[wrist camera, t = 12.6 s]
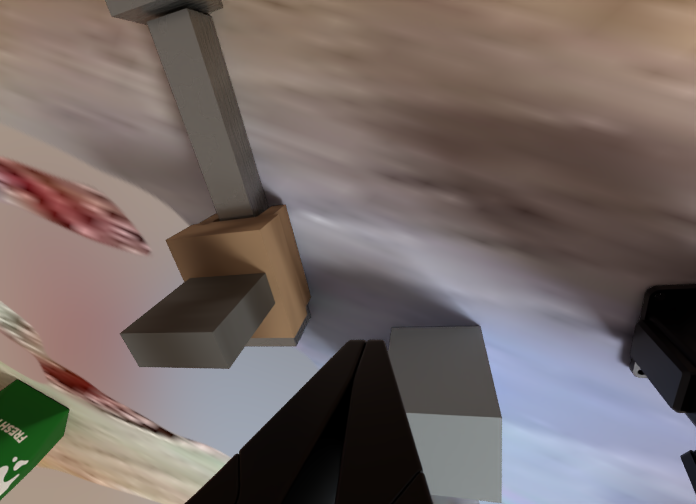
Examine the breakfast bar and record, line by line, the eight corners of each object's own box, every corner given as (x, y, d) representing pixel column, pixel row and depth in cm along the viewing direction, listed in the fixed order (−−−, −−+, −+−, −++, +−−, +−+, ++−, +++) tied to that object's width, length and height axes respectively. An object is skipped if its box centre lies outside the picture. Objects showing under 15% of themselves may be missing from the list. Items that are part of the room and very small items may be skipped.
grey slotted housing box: (480, 326, 22) (501, 417, 16) (482, 400, 25) (501, 502, 18) (391, 327, 23) (379, 411, 17) (403, 397, 26) (396, 490, 20)
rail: (214, -21, 16) (171, -44, 14) (310, 317, 25) (296, 346, 22) (151, 1, 17) (98, -16, 15) (264, 318, 26) (244, 346, 23)
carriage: (291, 203, 20) (200, 279, 12) (316, 296, 23) (256, 409, 15) (210, 214, 22) (83, 287, 14) (243, 300, 25) (153, 403, 17)
